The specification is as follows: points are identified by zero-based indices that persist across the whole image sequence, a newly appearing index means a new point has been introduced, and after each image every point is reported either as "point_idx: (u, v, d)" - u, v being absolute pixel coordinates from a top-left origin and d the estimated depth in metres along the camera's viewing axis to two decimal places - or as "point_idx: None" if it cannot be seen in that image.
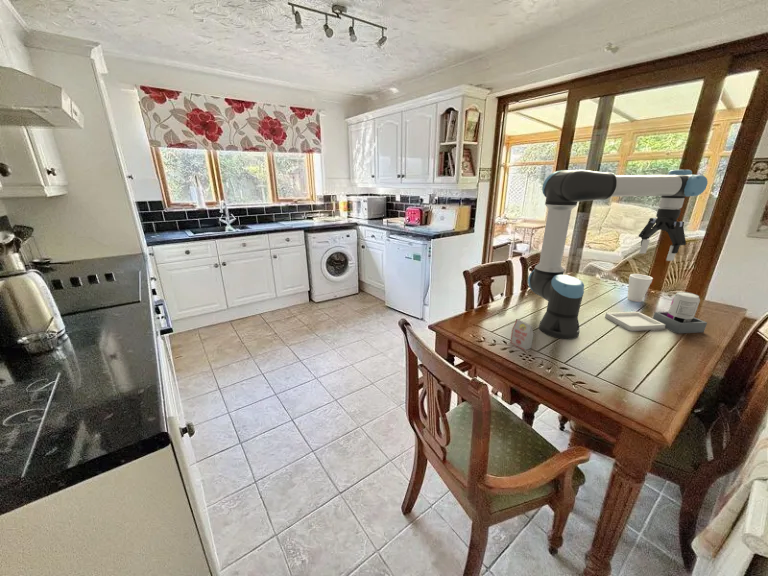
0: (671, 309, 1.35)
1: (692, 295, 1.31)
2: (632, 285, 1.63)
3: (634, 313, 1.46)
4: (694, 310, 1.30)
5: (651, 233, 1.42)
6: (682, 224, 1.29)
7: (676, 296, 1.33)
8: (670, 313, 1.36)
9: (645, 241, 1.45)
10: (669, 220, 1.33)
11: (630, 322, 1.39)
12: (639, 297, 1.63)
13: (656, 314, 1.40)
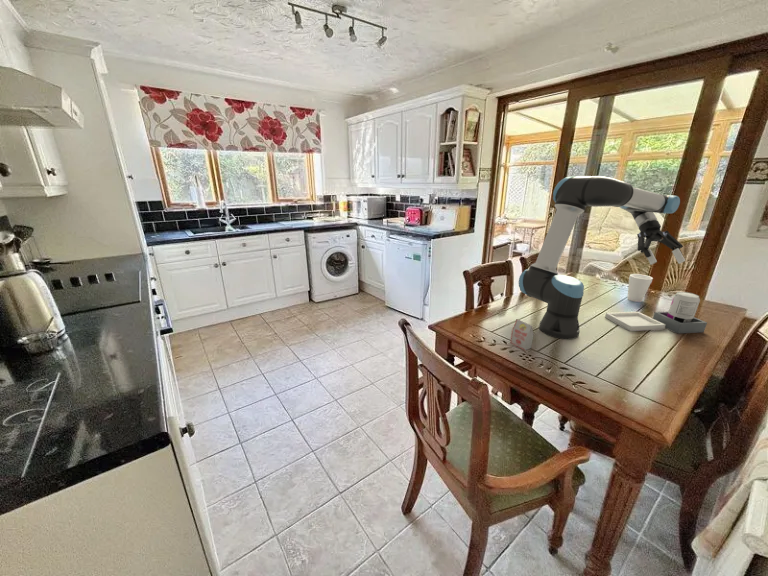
0: (671, 309, 1.35)
1: (692, 295, 1.31)
2: (632, 285, 1.63)
3: (634, 313, 1.46)
4: (694, 310, 1.30)
5: None
6: None
7: (676, 296, 1.33)
8: (670, 313, 1.36)
9: None
10: (659, 230, 1.46)
11: (630, 322, 1.39)
12: (639, 297, 1.63)
13: (656, 314, 1.40)
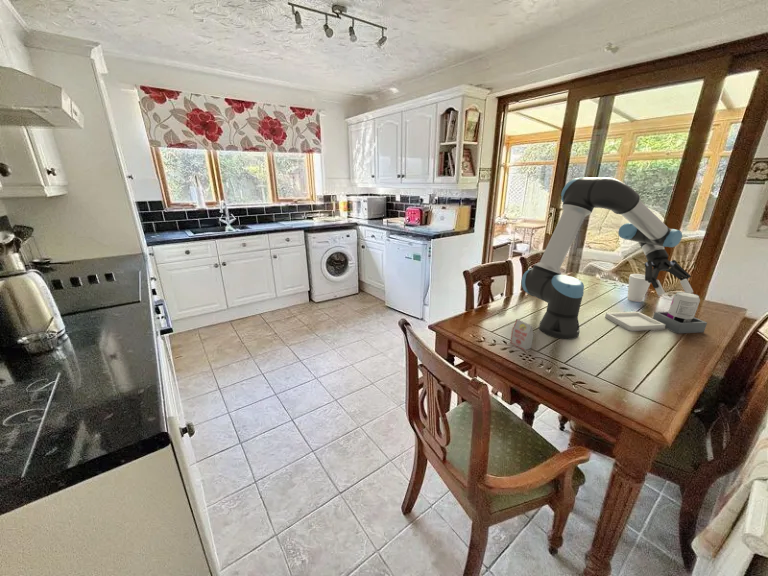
0: (671, 309, 1.35)
1: (692, 295, 1.31)
2: (632, 285, 1.63)
3: (634, 313, 1.46)
4: (694, 310, 1.30)
5: None
6: None
7: (676, 296, 1.33)
8: (670, 313, 1.36)
9: None
10: (666, 260, 1.44)
11: (630, 322, 1.39)
12: (639, 297, 1.63)
13: (656, 314, 1.40)
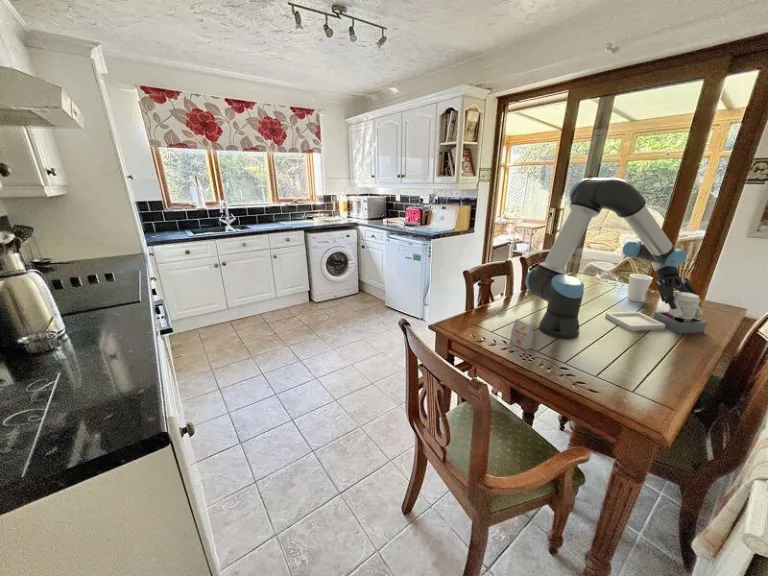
0: (671, 309, 1.35)
1: (692, 295, 1.31)
2: (632, 285, 1.63)
3: (634, 313, 1.46)
4: (694, 310, 1.30)
5: None
6: None
7: (676, 296, 1.33)
8: (670, 313, 1.36)
9: None
10: (677, 276, 1.38)
11: (630, 322, 1.39)
12: (639, 297, 1.63)
13: (656, 314, 1.40)
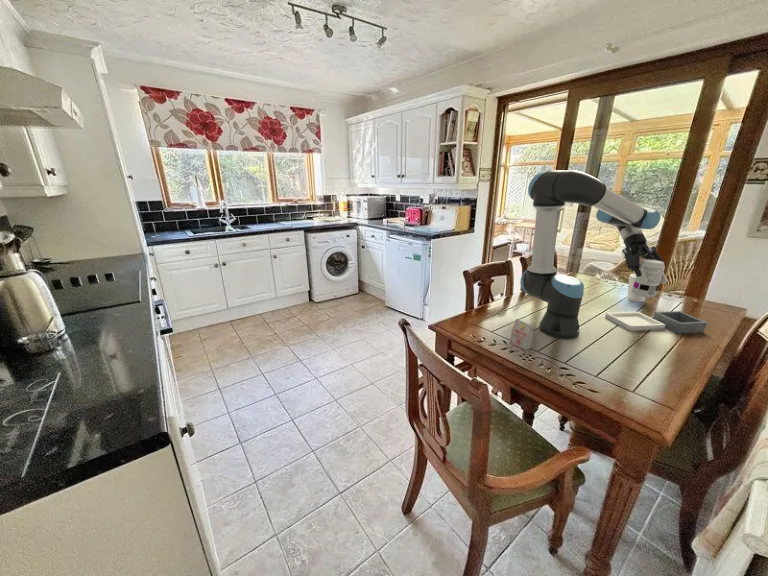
0: (637, 277, 1.34)
1: (657, 262, 1.30)
2: (632, 285, 1.63)
3: (634, 313, 1.46)
4: (659, 276, 1.29)
5: None
6: None
7: (642, 263, 1.32)
8: (636, 281, 1.34)
9: None
10: (645, 244, 1.37)
11: (630, 322, 1.39)
12: (639, 297, 1.63)
13: (656, 314, 1.40)
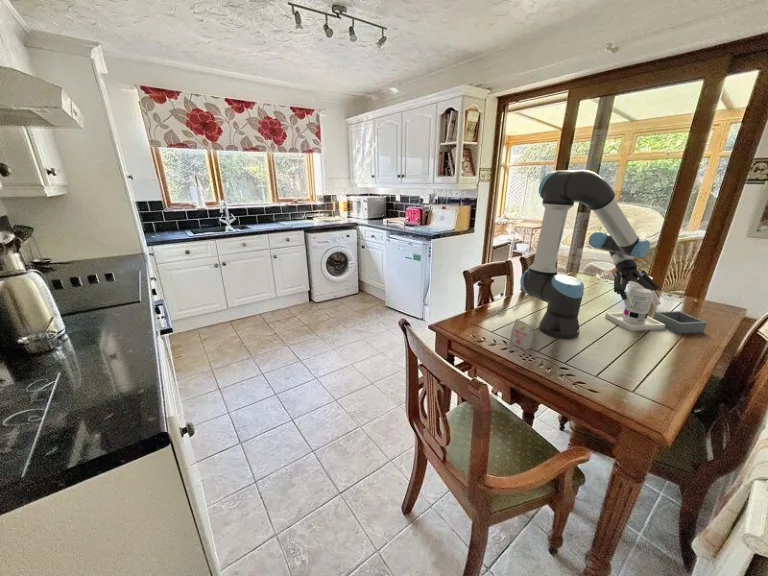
0: None
1: (646, 290, 1.35)
2: (632, 285, 1.63)
3: None
4: (648, 305, 1.33)
5: None
6: None
7: (631, 291, 1.36)
8: (626, 308, 1.39)
9: None
10: (635, 270, 1.41)
11: None
12: None
13: (656, 314, 1.40)
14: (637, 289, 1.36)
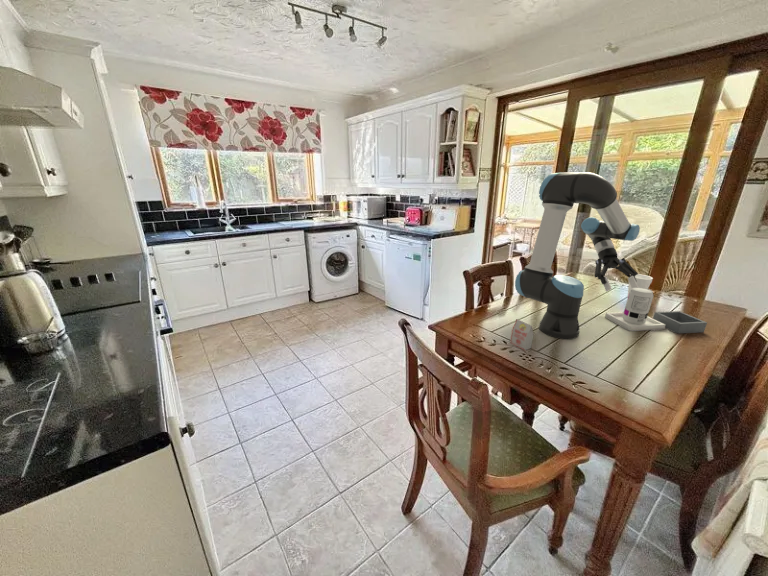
0: (627, 304, 1.38)
1: (646, 290, 1.35)
2: None
3: None
4: (648, 305, 1.33)
5: None
6: None
7: (631, 291, 1.36)
8: (626, 308, 1.39)
9: None
10: (615, 258, 1.52)
11: None
12: None
13: (656, 314, 1.40)
14: (637, 289, 1.36)
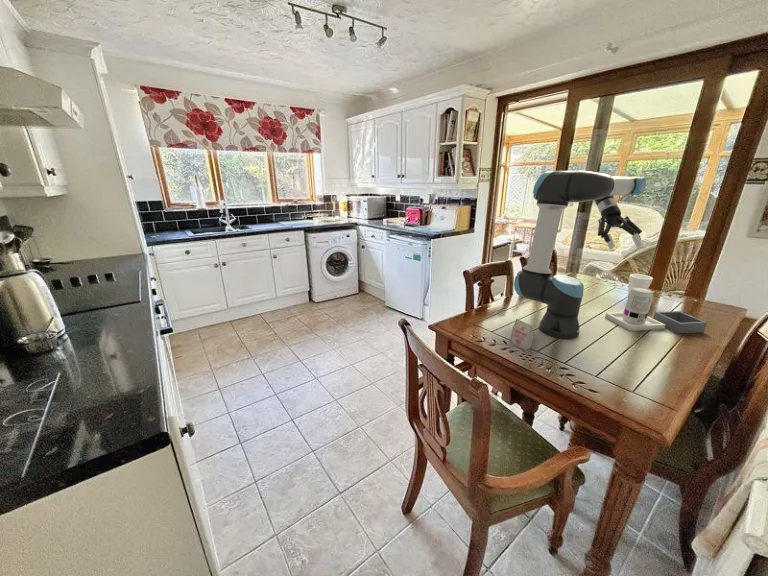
0: (627, 304, 1.38)
1: (646, 290, 1.35)
2: (632, 285, 1.63)
3: None
4: (648, 305, 1.33)
5: None
6: None
7: (631, 291, 1.36)
8: (626, 308, 1.39)
9: None
10: (619, 216, 1.49)
11: None
12: None
13: (656, 314, 1.40)
14: (637, 289, 1.36)
